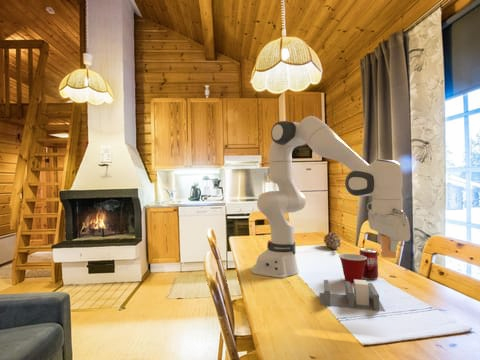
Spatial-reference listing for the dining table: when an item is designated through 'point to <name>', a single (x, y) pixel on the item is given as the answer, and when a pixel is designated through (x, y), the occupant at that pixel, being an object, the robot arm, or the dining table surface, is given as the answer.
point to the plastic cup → (352, 266)
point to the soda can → (370, 263)
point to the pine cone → (332, 240)
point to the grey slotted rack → (350, 298)
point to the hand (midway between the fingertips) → (387, 248)
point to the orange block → (386, 247)
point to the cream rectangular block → (361, 292)
